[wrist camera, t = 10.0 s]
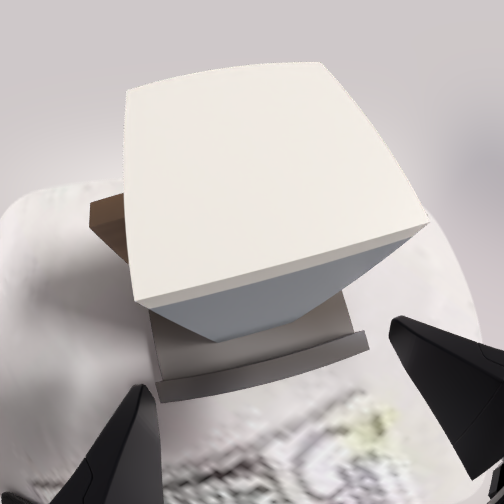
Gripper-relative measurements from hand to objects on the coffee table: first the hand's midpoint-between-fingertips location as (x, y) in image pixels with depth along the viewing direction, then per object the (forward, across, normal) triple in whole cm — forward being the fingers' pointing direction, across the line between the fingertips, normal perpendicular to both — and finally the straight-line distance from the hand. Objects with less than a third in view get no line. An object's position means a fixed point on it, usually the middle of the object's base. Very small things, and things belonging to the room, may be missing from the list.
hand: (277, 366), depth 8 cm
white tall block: (+8, 0, +2) cm, 8 cm away
